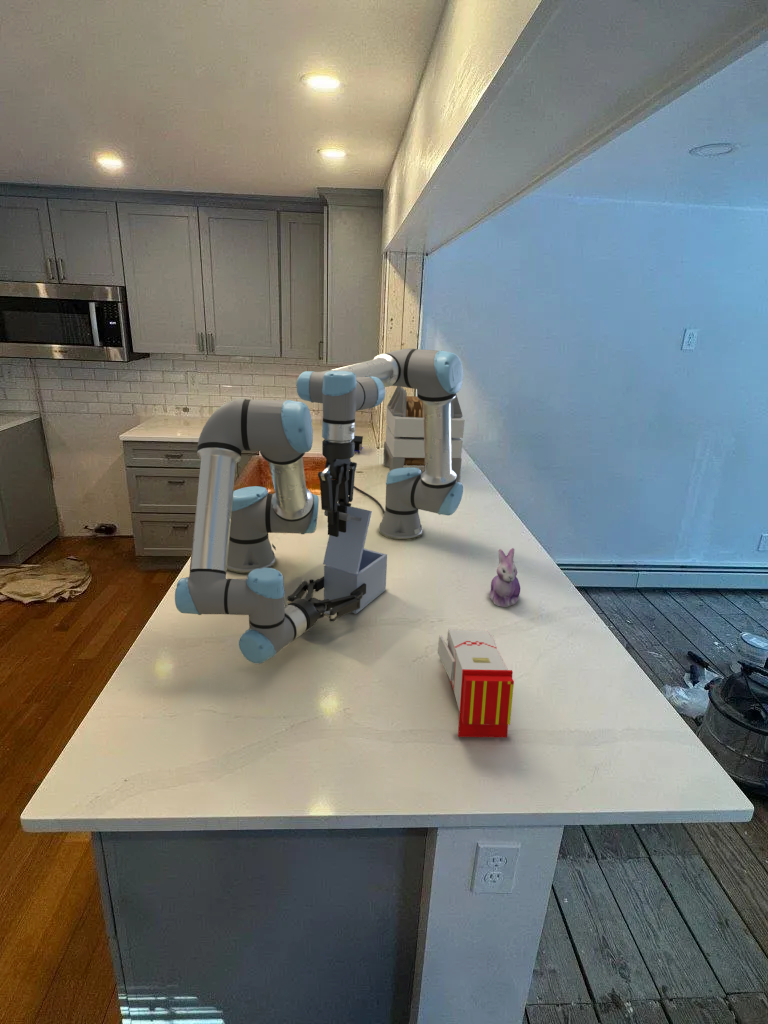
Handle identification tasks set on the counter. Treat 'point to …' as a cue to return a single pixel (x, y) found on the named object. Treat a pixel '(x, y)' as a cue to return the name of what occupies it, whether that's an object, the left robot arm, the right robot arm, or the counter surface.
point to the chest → (358, 579)
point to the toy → (478, 682)
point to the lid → (348, 541)
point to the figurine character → (358, 443)
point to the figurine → (505, 581)
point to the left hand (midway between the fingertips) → (347, 582)
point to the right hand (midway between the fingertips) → (337, 533)
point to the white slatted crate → (416, 432)
